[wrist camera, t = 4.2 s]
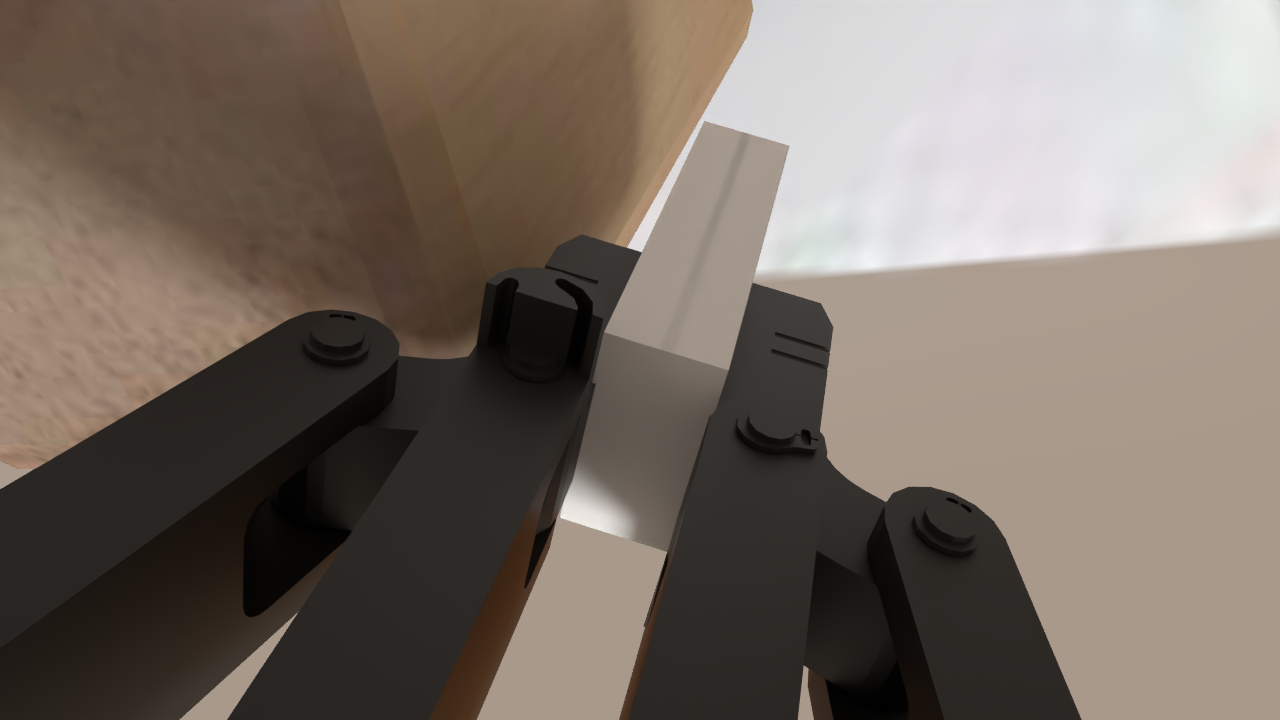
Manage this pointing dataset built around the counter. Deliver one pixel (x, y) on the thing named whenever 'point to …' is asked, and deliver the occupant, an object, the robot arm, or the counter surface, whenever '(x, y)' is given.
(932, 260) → the counter surface
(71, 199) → the wooden block
